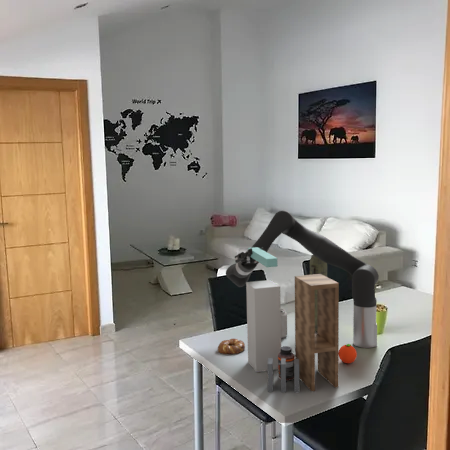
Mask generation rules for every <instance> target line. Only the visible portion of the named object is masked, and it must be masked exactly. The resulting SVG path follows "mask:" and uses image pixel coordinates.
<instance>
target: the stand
mask: <svg viewBox="0 0 450 450" xmlns="http://www.w3.org/2000/svg"><path fill="white" fill-rule="evenodd" d="M339 284H340V283H339V282H337V281H335V280H334V279H331V278H330V277H328V276H327V277H326V276H324V275H322V274H313V275H310V274H306V275H303V274H302V275H295V276H294V332H295V333H294V335H295V337H294V339H295V341H294V342H295V343H294V345H295V347H294V348H295V349H294V350H295V351H294V356H295V359H299V381H301V382H302V383H303V384H304V385H305V386H306V387H307V388H308V390H310V391H311V392H315V391H316V365H315V364H316V358H315V357H316V356H315V355H316V354H317V372H318V373H319V374H320V375H321V377H322V378H324V379H325V380H326V381H328V383H329V384H330V385H332V386H333V387H334V388H339V354H338V352H339V349H340V347H339V345H340V344H339V340H340V339H339V336H340V335H339V332H340V331H339V330H340V329H339V323H340V322H339V320H340V319H339V318H340V317H339V316H340V315H339V310H340V309H339V308H340V307H339V306H340V303H339V300H340V299H339V298H340V296H339V294H340V292H339V290H340V289H339V287H340V286H339ZM315 290H317V333H315Z"/></svg>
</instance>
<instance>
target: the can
mask: <svg viewBox="0 0 450 450" xmlns="http://www.w3.org/2000/svg"><path fill="white" fill-rule="evenodd" d="M287 335H288V313H287V312H286V309H284V308H281V339H285V338H286V336H287Z"/></svg>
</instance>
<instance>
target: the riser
mask: <svg viewBox="0 0 450 450" xmlns="http://www.w3.org/2000/svg"><path fill="white" fill-rule="evenodd" d="M245 286H246V287H245V288H246V289H245V290H246V322H247V325H246V329H247V332H246V333H247V362H248V364H249V365H250V367H252V369H253V370H254V371H255V372H256V373H261V372H268V358H273V371H274V370H278V354H279V353H280V352H281V347H282V338H281V309H282V307H281V286H280V285H279V284H278V283H276V282H274V281H273V280H271V279H267V280H255V281H247V282H246V284H245Z"/></svg>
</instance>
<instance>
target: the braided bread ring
mask: <svg viewBox="0 0 450 450" xmlns="http://www.w3.org/2000/svg"><path fill="white" fill-rule="evenodd" d="M245 349H246V345H245V342H244V341H243V340H241V339H238V338H230V339H225V340H222V341H221V342H219V344H218V346H217V352H218V353H220V354H222V355H223V354H225V355H233V354H236V355H237V354H240V353H241V352H244V350H245Z"/></svg>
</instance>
